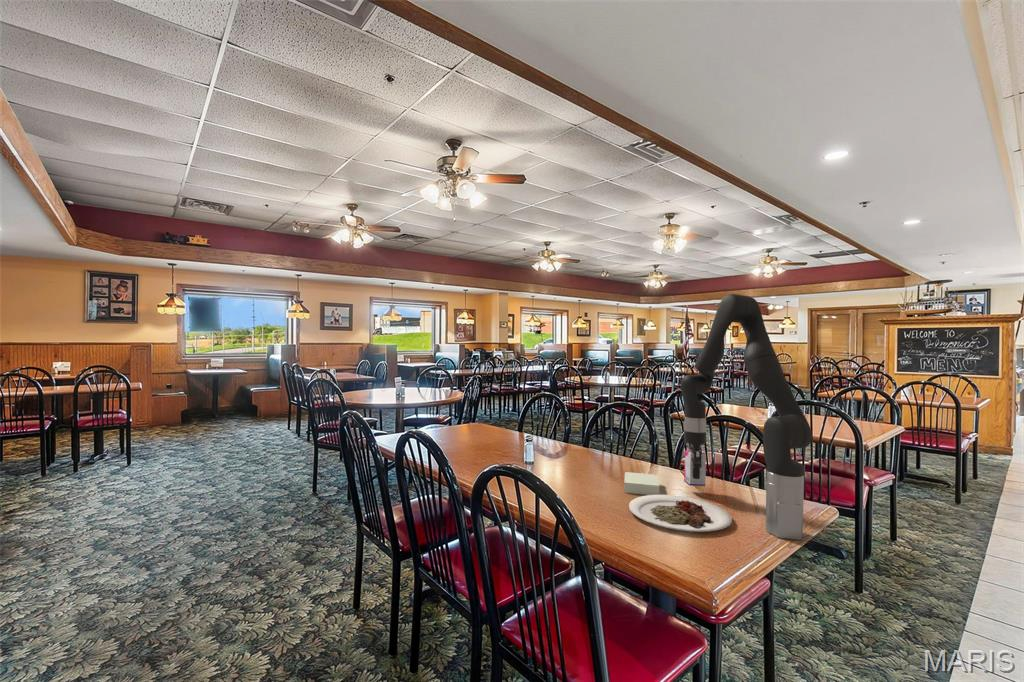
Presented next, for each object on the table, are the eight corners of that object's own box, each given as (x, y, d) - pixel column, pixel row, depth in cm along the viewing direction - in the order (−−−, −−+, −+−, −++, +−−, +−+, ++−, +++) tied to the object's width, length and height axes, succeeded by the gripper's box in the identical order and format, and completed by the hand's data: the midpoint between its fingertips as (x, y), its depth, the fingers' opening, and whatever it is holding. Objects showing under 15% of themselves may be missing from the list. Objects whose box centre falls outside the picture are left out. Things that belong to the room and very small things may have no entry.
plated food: (622, 526, 134) (622, 514, 134) (634, 495, 162) (634, 485, 162) (736, 544, 123) (736, 532, 123) (728, 508, 151) (728, 497, 151)
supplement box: (706, 486, 162) (706, 453, 162) (689, 485, 162) (689, 453, 163) (699, 481, 168) (700, 450, 168) (683, 481, 168) (683, 449, 168)
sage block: (659, 497, 161) (659, 485, 161) (624, 493, 164) (624, 482, 164) (657, 485, 174) (657, 474, 174) (624, 482, 178) (625, 471, 178)
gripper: (709, 433, 158) (709, 482, 157) (702, 427, 172) (702, 471, 171) (686, 432, 160) (686, 480, 159) (681, 426, 174) (681, 470, 173)
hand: (694, 475), depth 165 cm, fingers closed on supplement box, 6 cm apart
